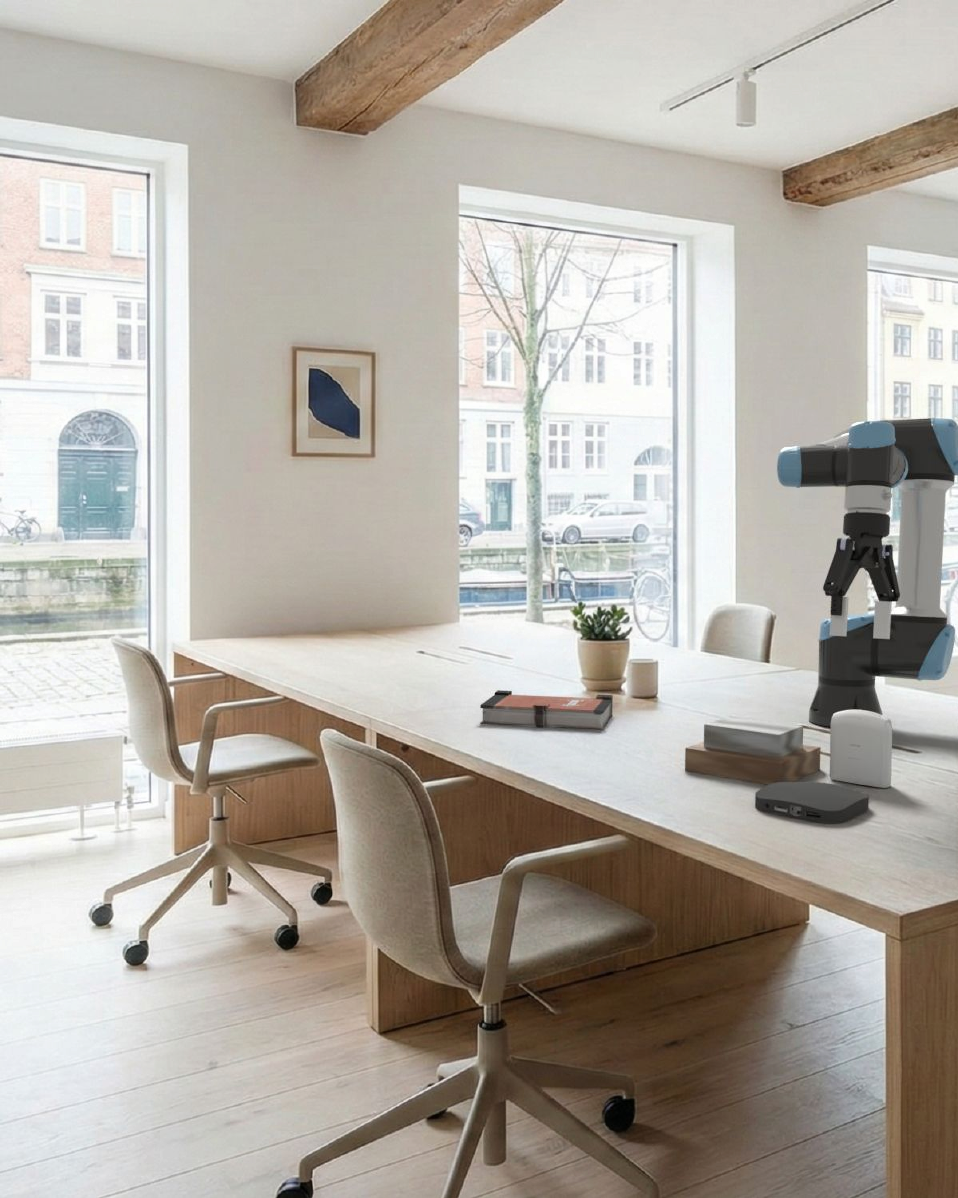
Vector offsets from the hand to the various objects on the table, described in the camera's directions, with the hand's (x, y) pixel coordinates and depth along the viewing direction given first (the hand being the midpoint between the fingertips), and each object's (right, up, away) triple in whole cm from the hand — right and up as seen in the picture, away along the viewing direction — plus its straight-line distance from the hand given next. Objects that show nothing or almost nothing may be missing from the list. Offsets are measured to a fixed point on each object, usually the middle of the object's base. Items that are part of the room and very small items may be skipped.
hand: (860, 637), depth 189 cm
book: (-50, -20, +53) cm, 76 cm away
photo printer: (-1, -25, -2) cm, 25 cm away
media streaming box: (-14, -26, -18) cm, 34 cm away
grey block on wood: (-17, -24, +7) cm, 30 cm away
